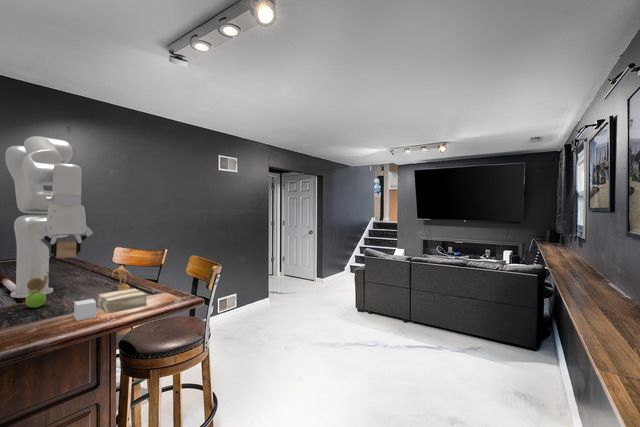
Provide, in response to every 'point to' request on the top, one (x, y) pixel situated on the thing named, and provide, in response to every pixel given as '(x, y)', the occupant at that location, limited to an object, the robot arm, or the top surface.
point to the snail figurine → (36, 292)
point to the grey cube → (84, 309)
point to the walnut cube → (66, 249)
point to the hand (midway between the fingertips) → (65, 254)
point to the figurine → (121, 271)
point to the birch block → (122, 300)
